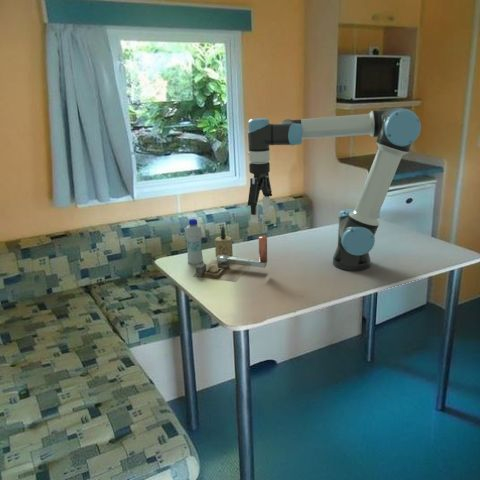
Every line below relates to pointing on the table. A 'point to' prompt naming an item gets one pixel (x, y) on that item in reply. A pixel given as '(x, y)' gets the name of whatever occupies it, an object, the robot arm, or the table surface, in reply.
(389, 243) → the table surface
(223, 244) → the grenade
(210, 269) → the nut
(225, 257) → the lever
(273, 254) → the table surface
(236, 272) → the square wooden tray
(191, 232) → the bottle
